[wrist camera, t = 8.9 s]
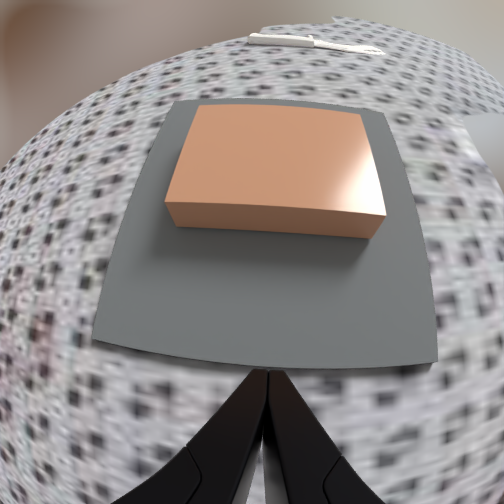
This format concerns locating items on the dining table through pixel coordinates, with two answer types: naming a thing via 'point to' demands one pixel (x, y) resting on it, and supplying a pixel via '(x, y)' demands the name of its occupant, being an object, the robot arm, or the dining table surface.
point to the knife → (307, 43)
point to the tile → (277, 172)
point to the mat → (269, 275)
